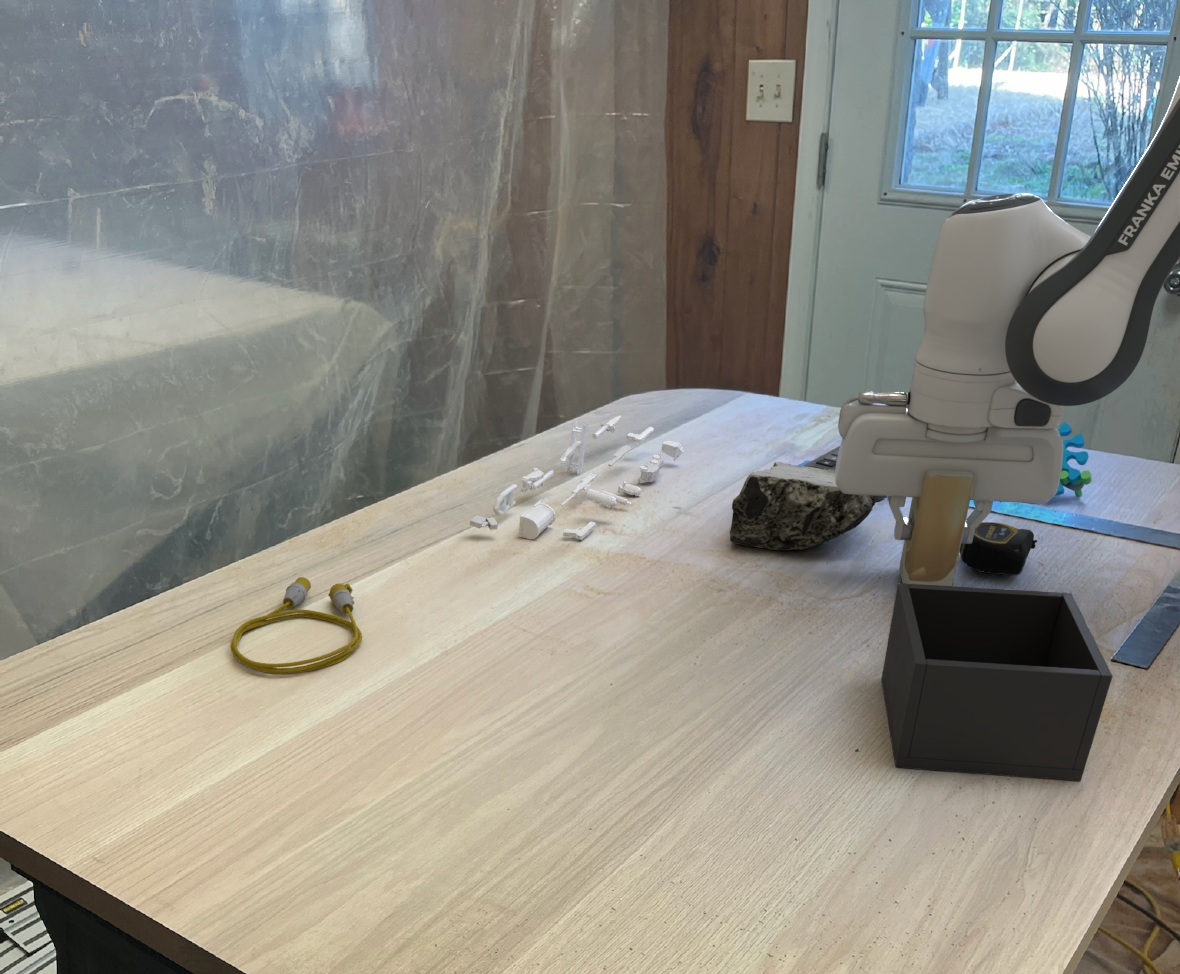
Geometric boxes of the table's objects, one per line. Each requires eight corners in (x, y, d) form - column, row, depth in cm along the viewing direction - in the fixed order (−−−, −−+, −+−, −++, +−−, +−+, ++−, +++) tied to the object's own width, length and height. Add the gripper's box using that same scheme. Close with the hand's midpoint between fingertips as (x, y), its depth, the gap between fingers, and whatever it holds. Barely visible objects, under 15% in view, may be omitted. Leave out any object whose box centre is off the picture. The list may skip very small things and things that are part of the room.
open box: (1045, 690, 97) (1071, 592, 92) (1080, 781, 86) (1113, 676, 81) (881, 679, 98) (897, 582, 93) (895, 767, 87) (915, 663, 82)
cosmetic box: (897, 569, 117) (917, 450, 110) (941, 571, 116) (964, 452, 110) (906, 596, 112) (927, 473, 105) (951, 598, 111) (976, 475, 104)
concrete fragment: (743, 479, 131) (864, 415, 123) (780, 564, 132) (903, 505, 124) (697, 490, 118) (828, 419, 110) (738, 583, 119) (871, 519, 111)
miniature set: (607, 434, 148) (693, 463, 145) (468, 547, 123) (568, 585, 120) (614, 386, 144) (703, 415, 141) (470, 493, 119) (575, 530, 116)
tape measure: (1018, 587, 114) (1026, 551, 111) (949, 572, 116) (956, 537, 114) (1032, 562, 118) (1040, 527, 116) (965, 548, 121) (972, 514, 119)
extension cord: (411, 614, 108) (409, 594, 107) (305, 689, 96) (302, 668, 95) (307, 588, 112) (304, 569, 111) (194, 657, 101) (189, 636, 100)
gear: (976, 474, 135) (1030, 404, 134) (985, 498, 140) (1038, 431, 139) (1057, 513, 129) (1114, 441, 128) (1063, 537, 134) (1119, 468, 133)
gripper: (844, 400, 102) (825, 546, 110) (1083, 410, 100) (1046, 558, 108) (840, 380, 107) (822, 521, 115) (1067, 389, 105) (1033, 532, 113)
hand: (932, 539), depth 111 cm, fingers closed on cosmetic box, 4 cm apart
